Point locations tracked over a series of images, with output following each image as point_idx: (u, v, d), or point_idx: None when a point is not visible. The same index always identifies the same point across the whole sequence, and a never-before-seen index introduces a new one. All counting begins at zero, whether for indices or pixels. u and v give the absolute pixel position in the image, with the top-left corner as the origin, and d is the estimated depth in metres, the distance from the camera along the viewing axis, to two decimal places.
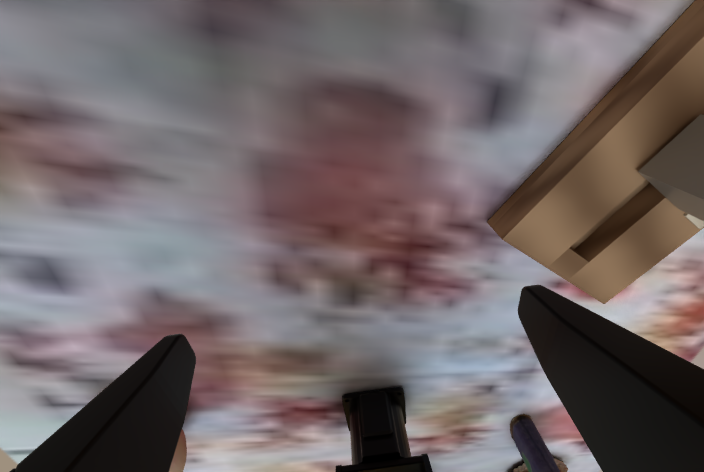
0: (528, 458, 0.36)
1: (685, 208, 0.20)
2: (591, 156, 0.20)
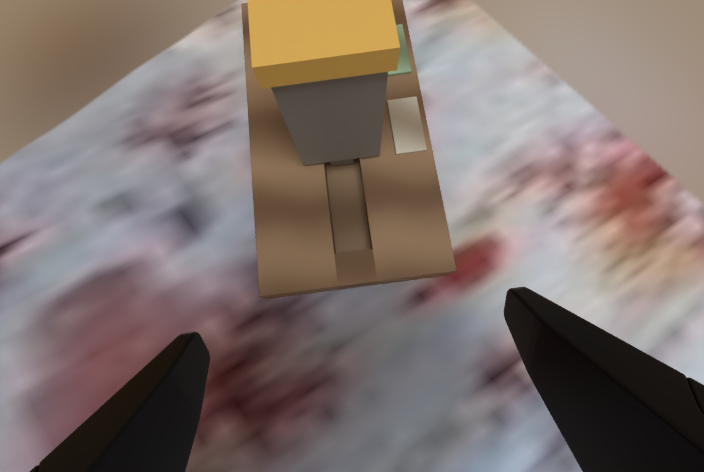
0: None
1: (361, 149, 0.20)
2: (258, 186, 0.21)
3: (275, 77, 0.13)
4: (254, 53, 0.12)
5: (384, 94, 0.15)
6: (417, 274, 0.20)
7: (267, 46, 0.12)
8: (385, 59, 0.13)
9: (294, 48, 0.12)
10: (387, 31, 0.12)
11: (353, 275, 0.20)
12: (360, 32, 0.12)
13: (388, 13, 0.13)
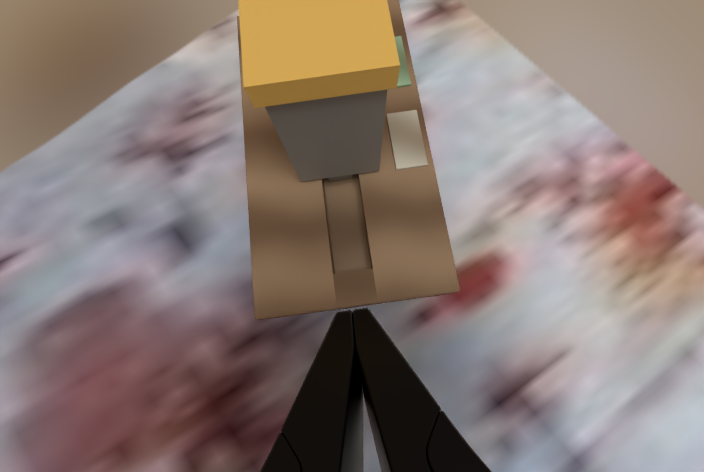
0: None
1: (360, 165, 0.20)
2: (254, 203, 0.21)
3: (268, 96, 0.12)
4: (246, 72, 0.12)
5: (383, 111, 0.15)
6: (419, 295, 0.19)
7: (260, 64, 0.12)
8: (384, 77, 0.12)
9: (288, 66, 0.12)
10: (386, 48, 0.12)
11: (352, 296, 0.19)
12: (358, 49, 0.12)
13: (387, 29, 0.12)
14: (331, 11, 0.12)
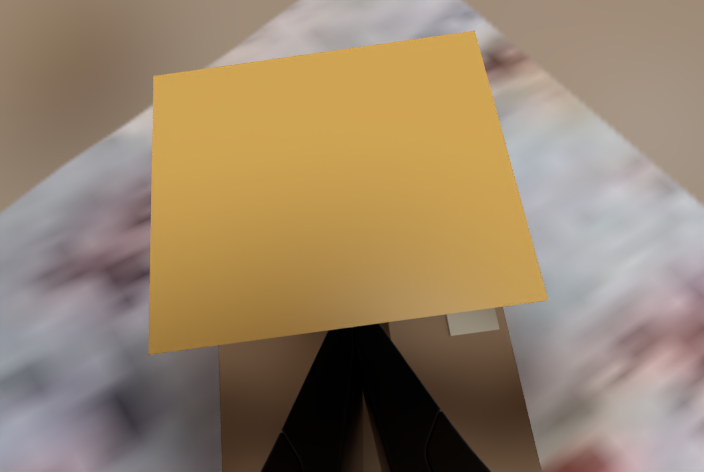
0: None
1: None
2: (229, 389, 0.13)
3: None
4: (159, 310, 0.05)
5: None
6: None
7: (193, 287, 0.05)
8: None
9: (263, 295, 0.05)
10: (507, 249, 0.05)
11: None
12: (436, 250, 0.05)
13: (505, 196, 0.05)
14: (367, 143, 0.05)
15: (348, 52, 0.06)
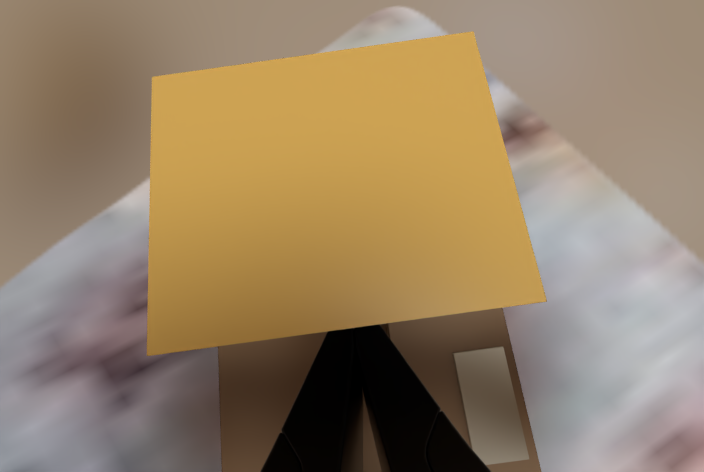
0: None
1: None
2: None
3: None
4: (157, 311, 0.05)
5: None
6: None
7: (191, 289, 0.05)
8: None
9: (262, 296, 0.05)
10: (506, 250, 0.05)
11: None
12: (435, 251, 0.05)
13: (504, 196, 0.05)
14: (366, 144, 0.05)
15: (347, 52, 0.06)
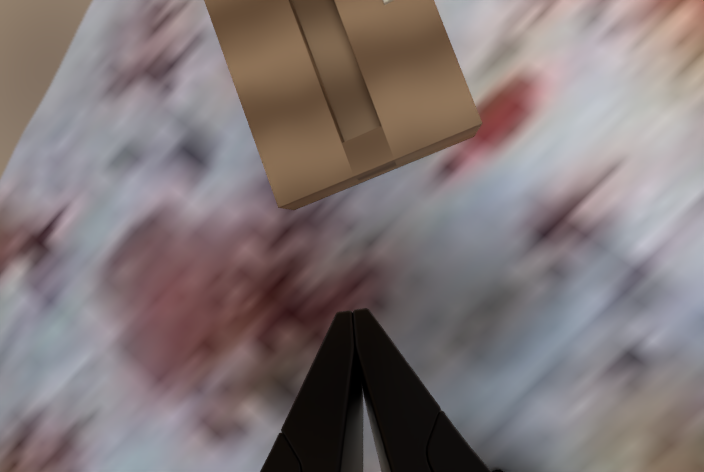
0: None
1: None
2: (244, 93, 0.19)
3: None
4: None
5: None
6: (437, 139, 0.17)
7: None
8: None
9: None
10: None
11: (367, 160, 0.18)
12: None
13: None
14: None
15: None
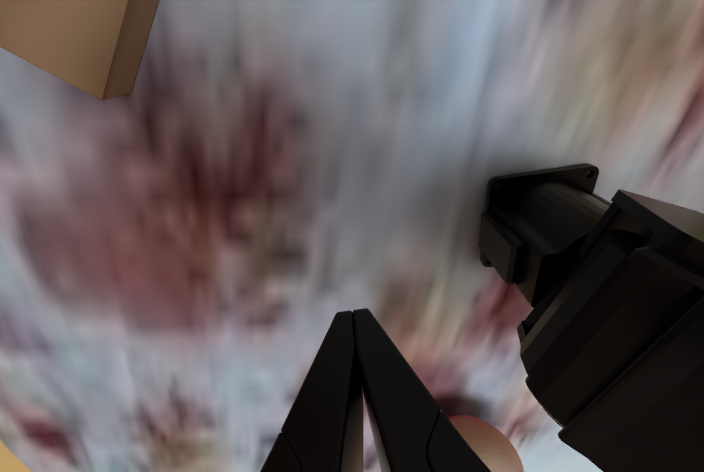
0: None
1: None
2: None
3: None
4: None
5: None
6: None
7: None
8: None
9: None
10: None
11: None
12: None
13: None
14: None
15: None
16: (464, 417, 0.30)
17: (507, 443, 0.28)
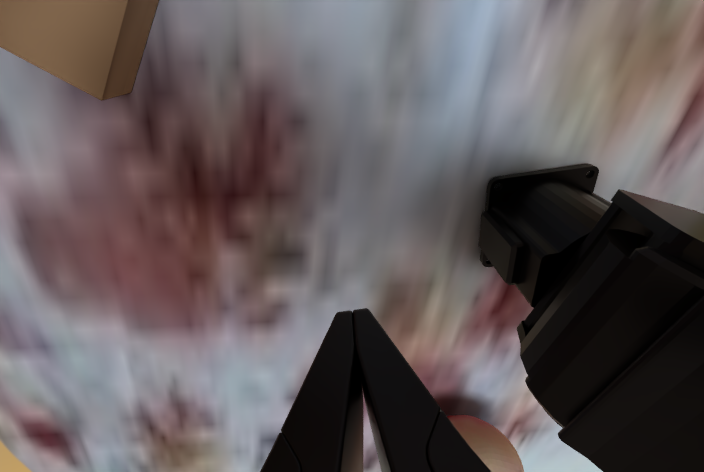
0: None
1: None
2: None
3: None
4: None
5: None
6: None
7: None
8: None
9: None
10: None
11: None
12: None
13: None
14: None
15: None
16: (464, 417, 0.30)
17: (507, 443, 0.28)
